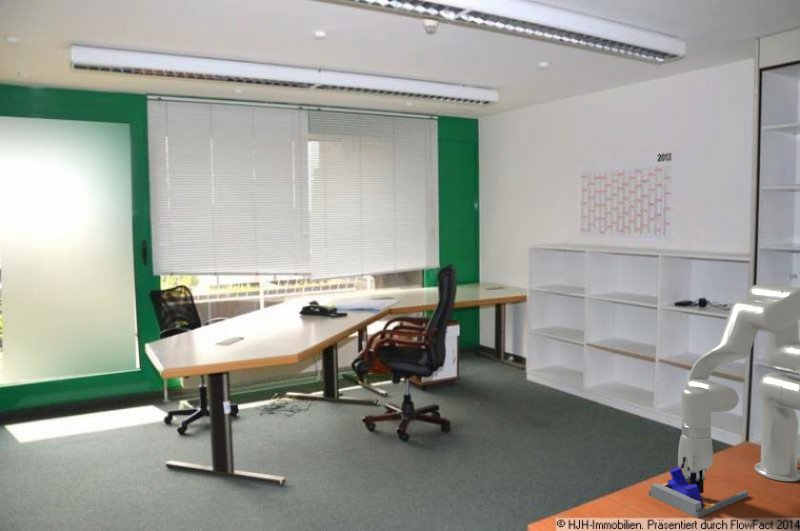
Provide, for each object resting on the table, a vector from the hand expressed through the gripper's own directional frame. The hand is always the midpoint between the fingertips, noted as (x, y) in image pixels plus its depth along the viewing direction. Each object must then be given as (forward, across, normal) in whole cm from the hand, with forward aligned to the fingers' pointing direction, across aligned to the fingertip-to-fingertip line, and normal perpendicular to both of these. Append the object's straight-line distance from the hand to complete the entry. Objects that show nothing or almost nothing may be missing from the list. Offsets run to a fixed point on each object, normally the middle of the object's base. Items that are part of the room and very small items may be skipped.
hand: (696, 491), depth 173 cm
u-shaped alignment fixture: (+2, -1, 0) cm, 2 cm away
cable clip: (+1, +4, -1) cm, 4 cm away
